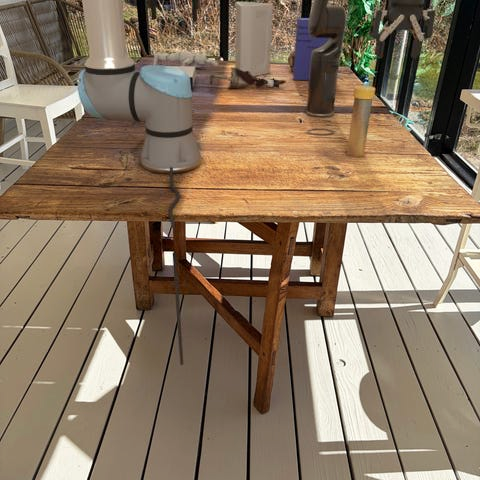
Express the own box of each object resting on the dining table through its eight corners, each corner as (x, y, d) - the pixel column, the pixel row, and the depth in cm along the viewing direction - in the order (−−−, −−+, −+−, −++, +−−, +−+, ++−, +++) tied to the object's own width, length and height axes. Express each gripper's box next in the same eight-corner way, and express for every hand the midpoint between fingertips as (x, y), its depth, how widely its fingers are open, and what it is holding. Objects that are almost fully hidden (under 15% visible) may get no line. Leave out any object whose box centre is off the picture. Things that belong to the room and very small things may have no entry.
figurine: (210, 87, 179) (288, 95, 182) (212, 65, 176) (291, 73, 180) (208, 84, 201) (278, 91, 205) (210, 64, 198) (280, 71, 202)
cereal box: (333, 78, 208) (339, 18, 196) (334, 81, 204) (341, 19, 192) (293, 77, 209) (297, 17, 197) (293, 79, 205) (297, 18, 193)
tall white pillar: (273, 76, 210) (276, 6, 196) (239, 77, 209) (240, 6, 194) (266, 67, 226) (268, 2, 212) (235, 67, 225) (235, 1, 210)
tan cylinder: (357, 158, 128) (367, 92, 119) (343, 153, 131) (352, 89, 122) (367, 154, 131) (377, 90, 122) (353, 149, 133) (362, 86, 125)
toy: (173, 75, 210) (172, 58, 207) (149, 64, 228) (148, 49, 224) (220, 69, 222) (220, 53, 218) (194, 59, 239) (193, 45, 236)
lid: (366, 100, 120) (367, 91, 118) (349, 96, 123) (350, 87, 122) (378, 97, 123) (379, 88, 121) (360, 93, 126) (362, 84, 125)
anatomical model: (297, 75, 231) (295, 75, 217) (284, 62, 230) (281, 61, 216) (315, 54, 226) (315, 52, 212) (302, 41, 225) (301, 38, 211)
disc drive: (147, 90, 186) (146, 77, 184) (155, 77, 206) (154, 65, 203) (192, 90, 187) (192, 77, 184) (196, 77, 206) (195, 65, 204)
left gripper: (214, -58, 143) (215, 20, 153) (135, -59, 146) (141, 17, 157) (207, -58, 136) (209, 23, 147) (125, -59, 140) (133, 20, 151)
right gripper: (433, -21, 109) (418, 54, 117) (372, -21, 108) (362, 54, 116) (448, -19, 103) (431, 60, 111) (384, -20, 101) (372, 61, 110)
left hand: (174, 20), depth 152 cm, fingers open, 13 cm apart
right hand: (396, 57), depth 114 cm, fingers open, 8 cm apart
